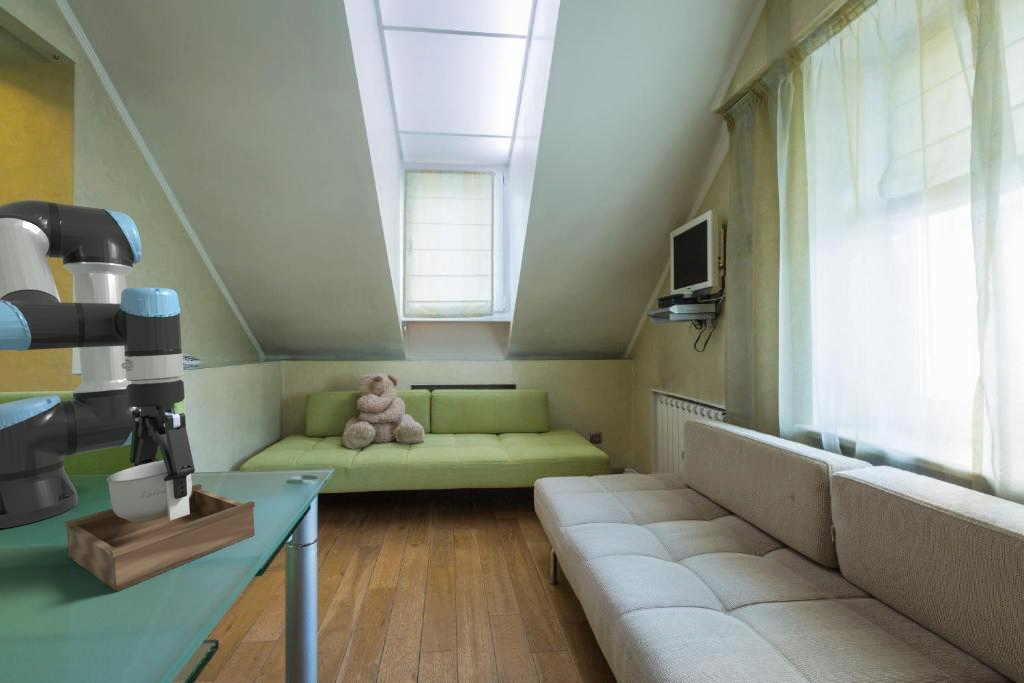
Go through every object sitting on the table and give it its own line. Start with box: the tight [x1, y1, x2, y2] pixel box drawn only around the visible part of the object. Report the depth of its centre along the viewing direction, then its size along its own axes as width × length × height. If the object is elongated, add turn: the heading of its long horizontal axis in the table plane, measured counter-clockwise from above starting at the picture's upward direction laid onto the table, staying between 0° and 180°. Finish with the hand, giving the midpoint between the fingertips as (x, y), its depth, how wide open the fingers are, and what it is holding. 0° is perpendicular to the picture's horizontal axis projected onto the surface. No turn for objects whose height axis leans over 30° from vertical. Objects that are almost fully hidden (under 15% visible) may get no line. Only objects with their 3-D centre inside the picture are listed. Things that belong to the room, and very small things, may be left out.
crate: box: [64, 483, 256, 593], centre depth 75 cm, size 20×19×6 cm
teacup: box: [106, 460, 193, 522], centre depth 75 cm, size 14×11×8 cm
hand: (163, 510), depth 75 cm, fingers closed on teacup, 11 cm apart
